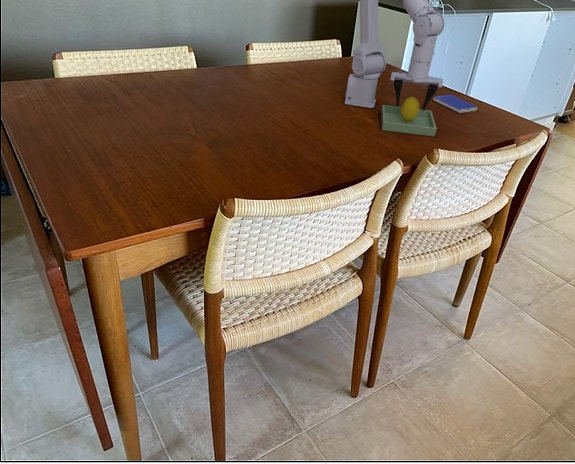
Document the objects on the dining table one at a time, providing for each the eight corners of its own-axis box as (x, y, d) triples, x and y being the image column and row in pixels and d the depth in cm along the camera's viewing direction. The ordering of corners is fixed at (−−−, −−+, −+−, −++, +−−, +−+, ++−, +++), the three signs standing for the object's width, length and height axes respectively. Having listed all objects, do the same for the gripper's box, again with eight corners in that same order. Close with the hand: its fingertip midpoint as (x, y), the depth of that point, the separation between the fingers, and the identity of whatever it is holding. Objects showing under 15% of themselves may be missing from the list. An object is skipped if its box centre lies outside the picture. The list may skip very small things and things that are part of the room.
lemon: (417, 121, 143) (424, 95, 138) (413, 127, 138) (420, 100, 134) (400, 117, 144) (405, 92, 140) (395, 123, 140) (401, 97, 135)
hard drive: (433, 96, 161) (460, 108, 152) (451, 94, 164) (478, 106, 155) (432, 100, 161) (458, 113, 153) (450, 98, 165) (476, 110, 156)
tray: (381, 130, 136) (383, 122, 135) (381, 112, 148) (382, 104, 147) (434, 136, 135) (436, 128, 133) (429, 117, 147) (431, 110, 146)
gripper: (393, 60, 129) (384, 108, 137) (447, 67, 126) (435, 115, 134) (395, 54, 135) (386, 100, 142) (447, 61, 132) (435, 107, 140)
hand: (410, 107), depth 139 cm, fingers open, 7 cm apart
